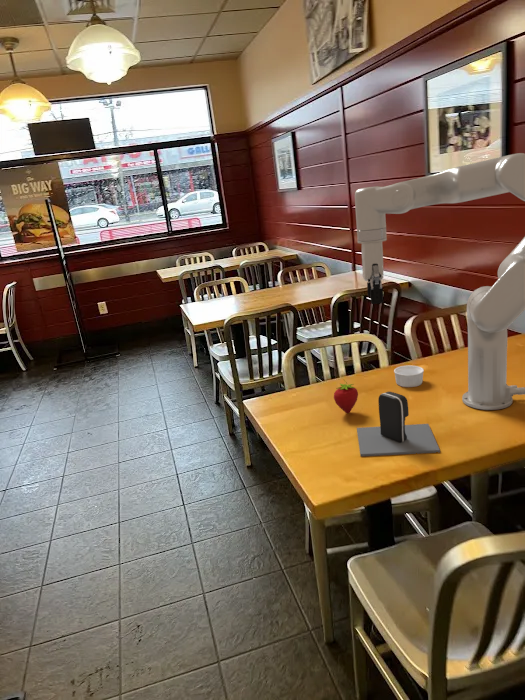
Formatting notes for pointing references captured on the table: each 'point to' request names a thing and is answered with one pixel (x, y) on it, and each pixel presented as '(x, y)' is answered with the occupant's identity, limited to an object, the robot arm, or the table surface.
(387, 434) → the battery charger
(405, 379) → the ramekin
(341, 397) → the strawberry
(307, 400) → the table surface
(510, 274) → the robot arm
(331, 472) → the table surface
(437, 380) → the table surface
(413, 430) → the mat
